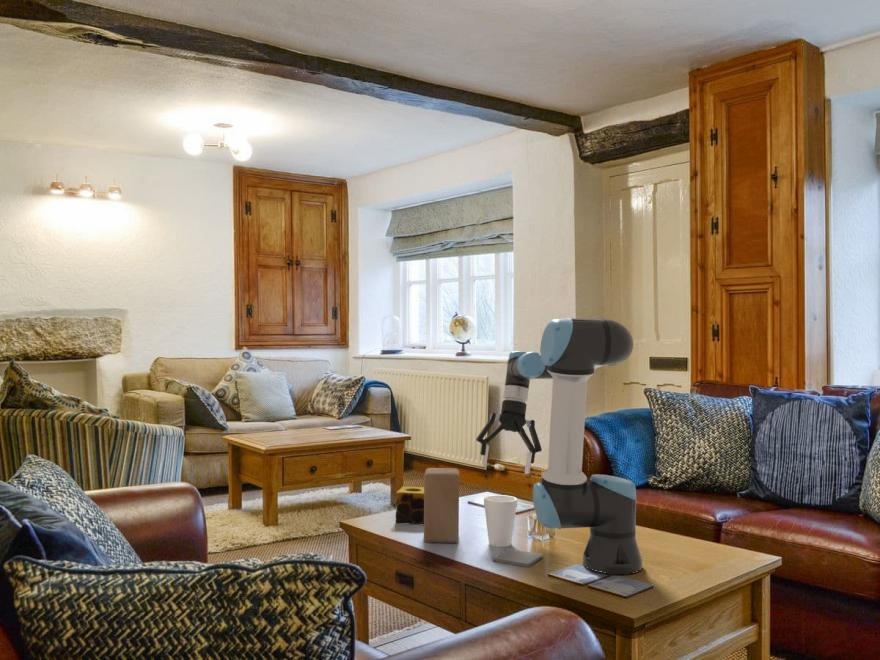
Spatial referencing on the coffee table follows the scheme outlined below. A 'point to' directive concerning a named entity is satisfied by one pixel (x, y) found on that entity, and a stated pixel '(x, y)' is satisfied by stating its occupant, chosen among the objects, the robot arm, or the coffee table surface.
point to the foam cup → (500, 519)
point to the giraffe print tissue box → (410, 505)
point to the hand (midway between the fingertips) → (505, 470)
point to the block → (441, 505)
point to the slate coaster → (518, 557)
